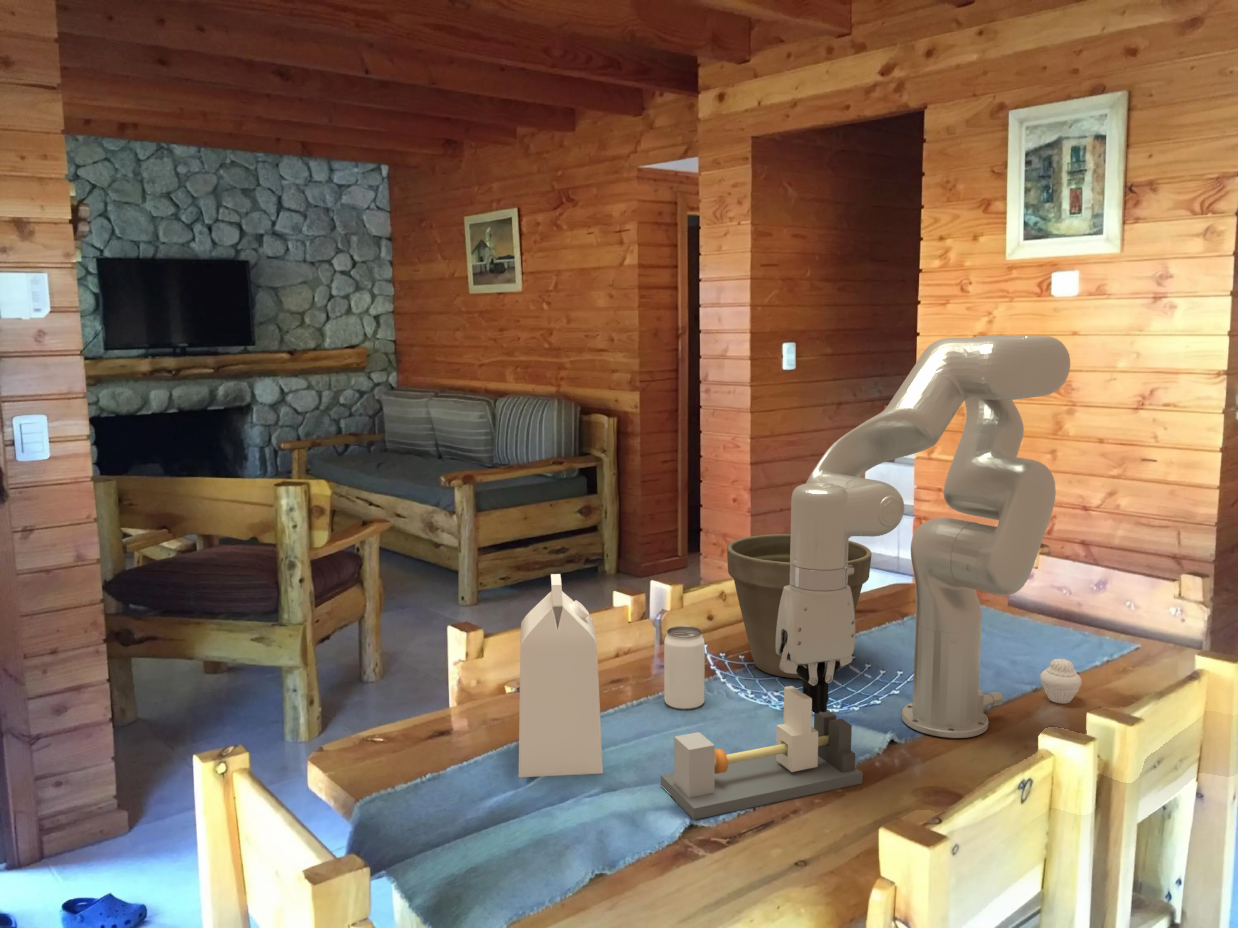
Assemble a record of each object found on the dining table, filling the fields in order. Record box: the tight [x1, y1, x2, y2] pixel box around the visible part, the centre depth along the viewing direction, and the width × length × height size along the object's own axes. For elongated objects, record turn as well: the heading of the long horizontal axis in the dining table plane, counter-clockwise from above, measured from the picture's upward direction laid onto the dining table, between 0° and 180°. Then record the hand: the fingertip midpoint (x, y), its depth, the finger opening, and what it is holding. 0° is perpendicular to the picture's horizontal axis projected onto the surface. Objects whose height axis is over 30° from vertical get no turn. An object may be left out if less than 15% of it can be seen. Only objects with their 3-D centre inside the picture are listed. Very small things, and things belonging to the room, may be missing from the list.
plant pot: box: [726, 533, 872, 679], centre depth 179 cm, size 25×25×22 cm
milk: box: [518, 573, 604, 778], centre depth 142 cm, size 12×12×26 cm
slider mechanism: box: [660, 709, 863, 821], centre depth 134 cm, size 25×10×8 cm, turn 112°
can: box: [663, 625, 706, 711], centre depth 163 cm, size 6×6×12 cm
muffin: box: [1039, 658, 1083, 704], centre depth 163 cm, size 6×6×7 cm
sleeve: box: [775, 685, 818, 772], centre depth 136 cm, size 4×5×10 cm
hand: (815, 708), depth 137 cm, fingers closed
